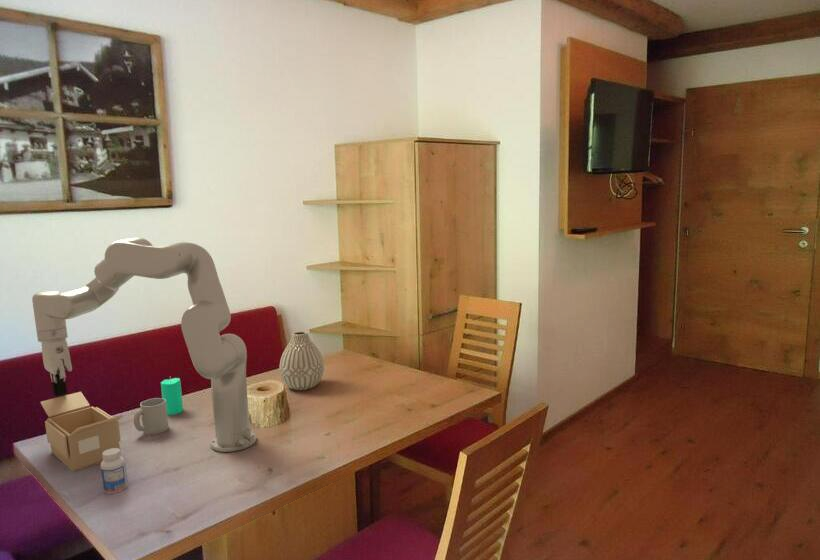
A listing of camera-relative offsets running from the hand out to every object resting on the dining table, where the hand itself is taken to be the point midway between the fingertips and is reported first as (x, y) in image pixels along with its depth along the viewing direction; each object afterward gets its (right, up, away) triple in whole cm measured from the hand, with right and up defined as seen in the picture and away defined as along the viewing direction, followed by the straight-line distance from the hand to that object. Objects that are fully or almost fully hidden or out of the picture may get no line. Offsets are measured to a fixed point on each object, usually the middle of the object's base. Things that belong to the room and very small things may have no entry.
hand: (60, 394), depth 178 cm
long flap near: (+18, -6, -16) cm, 25 cm away
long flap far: (+6, -4, -4) cm, 8 cm away
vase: (+64, -5, +42) cm, 77 cm away
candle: (+25, -10, +21) cm, 34 cm away
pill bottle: (+30, -18, -29) cm, 46 cm away
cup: (+25, -12, +5) cm, 28 cm away
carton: (+12, -15, -9) cm, 21 cm away
